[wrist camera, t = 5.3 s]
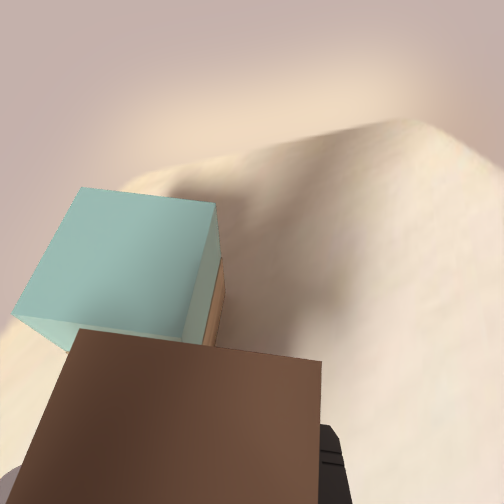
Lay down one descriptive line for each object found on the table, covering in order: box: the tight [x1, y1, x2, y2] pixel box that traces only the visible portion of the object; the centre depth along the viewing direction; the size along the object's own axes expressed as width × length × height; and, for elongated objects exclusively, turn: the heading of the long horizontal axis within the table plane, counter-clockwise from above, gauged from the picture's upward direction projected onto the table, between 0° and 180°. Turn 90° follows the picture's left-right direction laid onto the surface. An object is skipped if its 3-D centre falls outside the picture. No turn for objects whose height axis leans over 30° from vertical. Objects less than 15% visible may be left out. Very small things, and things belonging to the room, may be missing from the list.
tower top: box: [11, 187, 221, 352], centre depth 18 cm, size 7×7×5 cm
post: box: [6, 328, 322, 504], centre depth 10 cm, size 5×5×10 cm
